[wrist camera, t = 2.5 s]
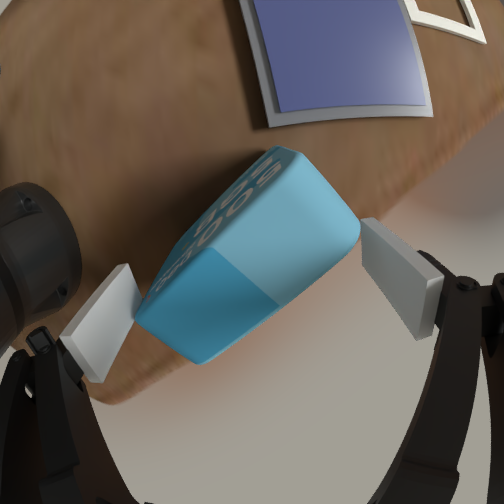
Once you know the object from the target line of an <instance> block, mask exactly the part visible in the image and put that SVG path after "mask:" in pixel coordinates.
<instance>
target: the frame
mask: <svg viewBox="0 0 504 504" xmlns="http://www.w3.org/2000/svg"><path fill="white" fill-rule="evenodd" d="M460 2H461V5H462V7H463V9H464V12H465V14H466V17H467V19H468V22H469V25H470V27H468V26H466V25H463V24H460V23H458V22H455V21H452V20H449V19H446V18H443V17H440V16H436V15H433V14H430V13H426V12H422V11H419V10H418V7H417V5H416V2H415V0H403V3H404V5H405V8H406V10H407V13H408V16H409V19H410V21H411V23H413V24H417V25H422V26H426V27H430V28H434V29H438V30H441V31H445V32H448V33H451V34H455V35H458V36H461V37H464V38H467V39H469V40H472V41H475V42H477V43H480V44H487V43H486V40H485V37H484V34H483V31H482V28H481V25H480V23H479V20H478V17H477V15H476V12H475V10H474V8H473V5H472V3H471V1H470V0H460Z"/></svg>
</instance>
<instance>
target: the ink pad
mask: <svg viewBox="0 0 504 504" xmlns="http://www.w3.org/2000/svg"><path fill="white" fill-rule="evenodd" d="M238 1H239V5H240V8H241V12H242V16H243V20H244V24H245V28H246V31H247V35H248V39H249V44H250V48H251V52H252V56H253V60H254V64H255V69H256V73H257V77H258V82H259V86H260V91H261V95H262V100H263V105H264V109H265V114H266V119H267V124H268V128H271V127H277V126H284V125H291V124H298V123H306V122H314V121H323V120H334V119H346V118H361V117H387V116H417V117H433V111H432V105H431V99H430V93H429V88H428V83H427V78H426V74H425V69H424V65H423V61H422V57H421V54H420V50H419V46H418V43H417V40H416V36H415V33H414V30H413V27H412V24H411V21H410V19H409V16H408V13H407V10H406V8H405V5H404V3H403V0H238Z"/></svg>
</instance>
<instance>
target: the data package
mask: <svg viewBox="0 0 504 504" xmlns="http://www.w3.org/2000/svg"><path fill="white" fill-rule="evenodd" d="M359 234H360V222H359V220H358V219H357V217H356V216H355V215H354V214H353V212H352V211H351V210H350V208H349V207H348V206H347V205H346V203H345V202H344V201H343V200H342V199H341V197H340V196H339V195H338V194H337V192H336V191H335V190H334V189H333V188H332V186H331V185H330V184H329V183H328V182H327V181H326V179H325V178H324V177H323V176H322V175H321V174H320V172H319V171H318V170H317V169H316V168H315V167H314V166H313V165H312V163H311V162H310V161H309V160H308V159H307V158H306V157H305V156H304V155H303V154H302V153H300V152H297V151H294V150H291V149H288V148H285V147H281V146H278V145H276V146H273V147H272V148H270V149H269V150H268V151H267V152H265V153H264V154H263V155H262V156H261V157H260V158H259V159H258V160H257V161H256V162H255V163H254V164H253V165H251V166H250V167H249V168H248V169H247V170H246V171H245V172H244V173H243V174H242V175H241V176H240V177H239V178H238V179H237V180H236V181H235V182H234V183H233V184H232V185H231V186H230V187H229V188H228V189H227V190H226V191H225V192H224V193H223V194H222V195H221V196H220V197H219V198H218V199H217V200H216V201H215V202H214V203H213V204H212V205H211V206H210V207H209V208H208V209H207V210H206V211H205V212H204V213H203V214H202V215H201V217H200V218H199V219H198V220H197V221H196V222H195V223H194V224H193V225H192V226H191V227H190V228H189V229H188V230H187V231H186V232H185V234H184V235H183V236H182V237H181V238H180V239H179V241H178V242H177V243H176V244H175V246H174V247H173V249H172V251H171V252H170V254H169V256H168V257H167V259H166V261H165V262H164V264H163V266H162V267H161V269H160V271H159V273H158V274H157V276H156V278H155V279H154V281H153V283H152V285H151V287H150V288H149V290H148V292H147V294H146V295H145V297H144V299H143V301H142V303H141V305H140V306H139V308H138V310H137V312H136V315H135V321H136V322H137V323H138V324H139V325H140V326H142V327H143V328H144V329H146V330H147V331H148V332H150V333H151V334H152V335H154V336H155V337H157V338H158V339H159V340H161V341H162V342H164V343H165V344H166V345H168V346H169V347H171V348H172V349H174V350H175V351H177V352H178V353H179V354H181V355H182V356H184V357H185V358H187V359H188V360H190V361H192V362H193V363H195V364H198V365H202V364H205V363H207V362H209V361H211V360H212V359H214V358H215V357H217V356H218V355H220V354H221V353H222V352H224V351H225V350H226V349H228V348H229V347H231V346H232V345H233V344H235V343H236V342H238V341H239V340H240V339H242V338H243V337H244V336H246V335H247V334H249V333H250V332H251V331H253V330H254V329H255V328H257V327H258V326H259V325H261V324H262V323H263V322H265V321H266V320H267V319H268V318H270V317H271V316H273V315H274V314H275V313H276V312H278V311H279V310H280V309H282V308H283V307H284V306H285V305H287V304H288V303H289V302H291V301H292V300H293V299H294V298H296V297H297V296H298V295H299V294H300V293H302V292H303V291H304V290H306V289H307V288H308V287H309V286H310V285H312V284H313V283H314V282H315V281H316V280H318V279H319V278H320V277H321V276H323V275H324V274H325V273H326V272H327V271H328V270H330V269H331V268H332V267H333V266H334V265H336V264H337V263H338V262H339V261H340V260H341V259H343V258H344V256H346V255H347V254H348V253H349V252H350V251H351V249H352V248H353V247H354V245H355V244H356V242H357V240H358V237H359Z"/></svg>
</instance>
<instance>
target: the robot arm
mask: <svg viewBox="0 0 504 504" xmlns="http://www.w3.org/2000/svg"><path fill="white" fill-rule="evenodd" d="M0 72H1V68H0ZM360 221H361V241H362V265H363V267H364V268H365V269H366V271H367V272H368V273H369V275H370V276H371V277H372V279H373V280H374V281H375V282H376V284H377V285H378V286H379V288H380V289H381V291H382V292H383V293H384V295H385V296H386V298H387V299H388V300H389V302H390V303H391V305H392V306H393V307H394V309H395V310H396V312H397V313H398V314H399V316H400V317H401V319H402V320H403V322H404V323H405V325H406V326H407V328H408V329H409V330H410V332H411V334H412V335H413V337H414V338H415V340H416V341H418V340H420V339H423V338H426V337H428V336H431V335H432V332H433V328H434V324H436V325H437V327H438V328H439V334H438V337H437V341H436V344H435V347H434V354H433V358H432V361H431V365H430V369H429V372H428V376H427V379H426V382H425V385H424V388H423V391H422V394H421V397H420V400H419V403H418V405H417V408H416V411H415V413H414V416H413V418H412V421H411V423H410V426H409V428H408V430H407V433H406V435H405V437H404V440H403V442H402V444H401V446H400V448H399V450H398V452H397V454H396V456H395V458H394V460H393V462H392V464H391V466H390V468H389V470H388V471H387V474H386V475H385V477H384V479H383V481H382V482H381V484H380V485H379V487H378V489H377V490H376V492H375V493H374V495H373V496H372V497H371V499H370V500H369V502H368V503H367V504H450V502H451V500H452V498H453V495H454V493H455V491H456V488H457V485H458V481H459V472H458V471H457V465H458V461H459V458H460V455H461V451H462V448H463V445H464V442H465V438H466V434H467V430H468V426H469V422H470V418H471V413H472V409H473V403H474V398H475V392H476V386H477V378H478V370H479V360H480V348H481V349H482V354H483V360H484V365H485V371H486V377H487V385H488V393H489V404H490V417H491V463H490V477H489V486H488V495H487V504H504V273H498V274H496V275H495V276H494V279H493V283H492V285H489V286H480V284H479V283H478V282H477V281H476V280H475V279H473V278H470V277H467V276H458V277H456V276H455V275H453V273H451V272H450V271H449V270H448V269H447V268H445V266H443V265H441V263H440V262H438V261H437V260H436V259H435V258H434V257H433V256H431V255H430V254H428V253H426V252H423V251H421V250H419V251H415V250H414V249H413V248H412V247H411V246H409V245H408V244H407V243H406V242H404V241H403V240H402V239H401V238H399V237H398V236H397V235H396V234H394V233H393V232H392V231H391V230H389V229H388V228H387V227H385V226H384V225H383V224H382V223H380V222H379V221H378V220H376V219H375V218H374V217H371V218H365V219H360ZM81 271H82V263H81V254H80V248H79V244H78V241H77V237H76V234H75V232H74V229H73V227H72V224H71V222H70V220H69V218H68V216H67V215H66V213H65V211H64V210H63V208H62V207H61V205H60V204H59V203H58V201H57V200H56V199H55V198H54V197H53V196H52V195H51V194H50V193H49V192H48V191H46V190H45V189H44V188H42V187H40V186H38V185H36V184H33V183H29V182H22V183H18V184H15V185H13V186H10V187H8V188H5V189H4V190H2V191H0V358H1V357H2V355H3V354H4V353H5V352H6V350H7V349H8V348H9V346H10V345H11V344H12V342H13V341H14V340H15V338H16V337H17V336H18V335H19V334H20V332H21V331H22V330H23V329H24V328H25V327H26V326H28V325H30V324H32V323H34V322H36V321H38V320H40V319H43V318H45V317H47V316H49V315H51V314H53V313H55V312H57V311H59V310H60V309H61V308H63V307H64V306H65V305H66V304H67V302H68V301H69V300H70V299H71V298H72V297H73V295H74V294H75V293H76V291H77V289H78V287H79V284H80V279H81ZM142 301H143V298H142V296H141V294H140V291H139V289H138V287H137V284H136V282H135V280H134V277H133V275H132V272H131V270H130V267H129V265H128V263H126V264H121V265H117V266H116V267H115V269H114V270H113V271H112V272H111V273H110V274H109V275H108V276H107V278H106V279H105V280H104V281H103V282H102V283H101V285H100V286H99V287H98V288H97V289H96V290H95V292H94V293H93V294H92V295H91V296H90V298H89V299H88V300H87V301H86V302H85V304H84V305H83V306H82V307H81V309H80V310H79V311H78V312H77V314H76V315H75V316H74V317H73V319H72V320H71V321H70V323H69V324H68V325H67V326H66V328H65V329H64V330H63V332H62V333H61V334H60V336H59V338H58V339H57V341H56V342H55V340H54V339H53V337H52V336H51V334H50V332H49V331H48V329H47V327H45V326H41V327H38V328H36V329H35V330H33V331H32V332H31V333H30V334H29V335H28V336H27V338H26V342H27V344H28V345H29V347H30V348H31V350H32V351H33V353H34V354H35V356H32V357H30V356H29V355H28V353H27V352H26V350H24V349H21V350H19V351H16V352H14V353H13V355H12V356H11V358H10V359H9V362H8V364H7V367H6V370H5V373H4V375H3V378H2V381H1V384H0V504H139V503H138V502H137V501H136V500H135V499H134V498H133V497H132V495H131V493H130V492H129V490H128V488H127V486H126V484H125V483H124V481H123V479H122V477H121V475H120V473H119V471H118V469H117V467H116V465H115V462H114V460H113V458H112V456H111V454H110V451H109V449H108V447H107V445H106V442H105V440H104V437H103V435H102V432H101V430H100V427H99V425H98V422H97V419H96V416H95V413H94V411H93V408H92V405H91V402H90V398H89V395H88V392H87V389H86V385H85V383H84V382H83V380H82V379H81V378H82V376H83V374H85V375H86V377H87V378H88V379H89V381H90V382H94V383H103V382H104V379H105V377H106V375H107V373H108V371H109V369H110V367H111V365H112V363H113V361H114V359H115V357H116V355H117V353H118V351H119V349H120V347H121V345H122V343H123V341H124V339H125V337H126V336H127V334H128V332H129V330H130V328H131V326H132V324H133V322H134V321H135V315H136V312H137V310H138V308H139V306H140V305H141V303H142ZM25 386H26V388H27V389H28V390H29V391H30V392H31V394H32V398H30V397H29V396H28V395H27V393H26V391H25ZM144 504H153V503H148V502H145V503H144Z"/></svg>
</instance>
